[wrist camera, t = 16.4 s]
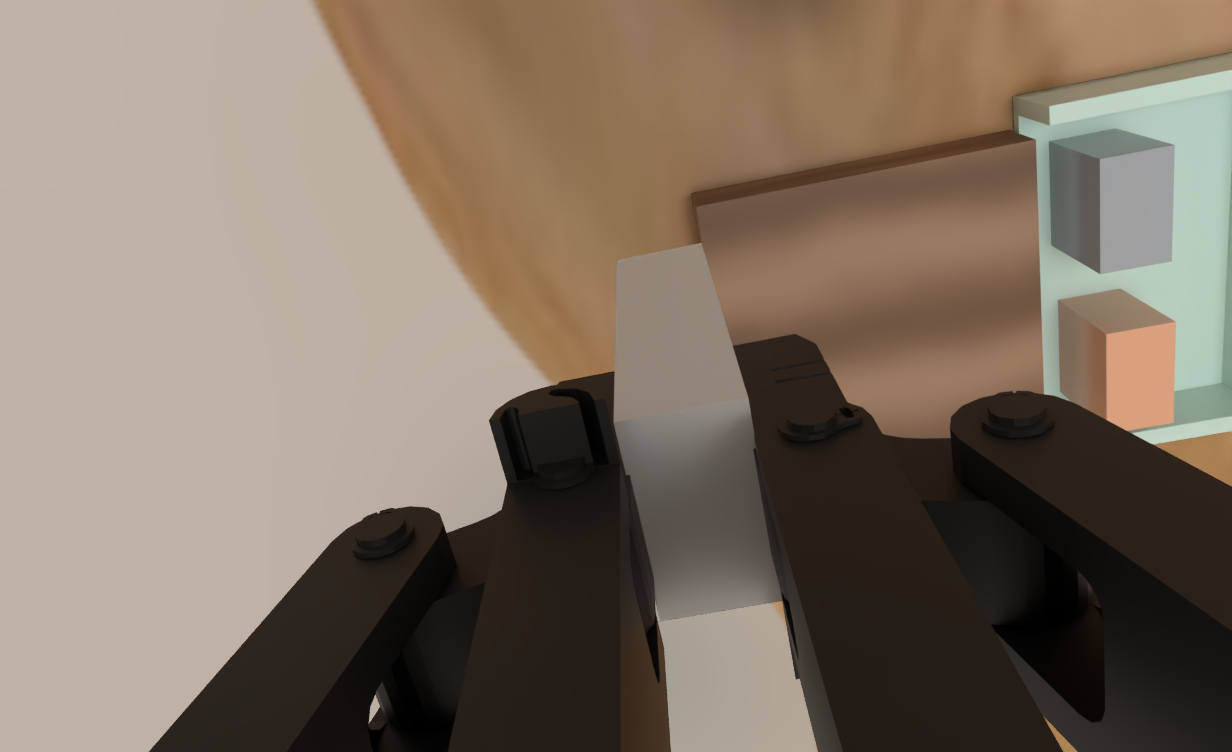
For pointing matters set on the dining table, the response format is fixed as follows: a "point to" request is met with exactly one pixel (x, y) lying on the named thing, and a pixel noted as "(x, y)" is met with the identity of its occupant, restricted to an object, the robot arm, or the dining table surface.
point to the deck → (892, 273)
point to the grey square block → (1112, 199)
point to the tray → (1202, 224)
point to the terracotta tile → (1117, 358)
